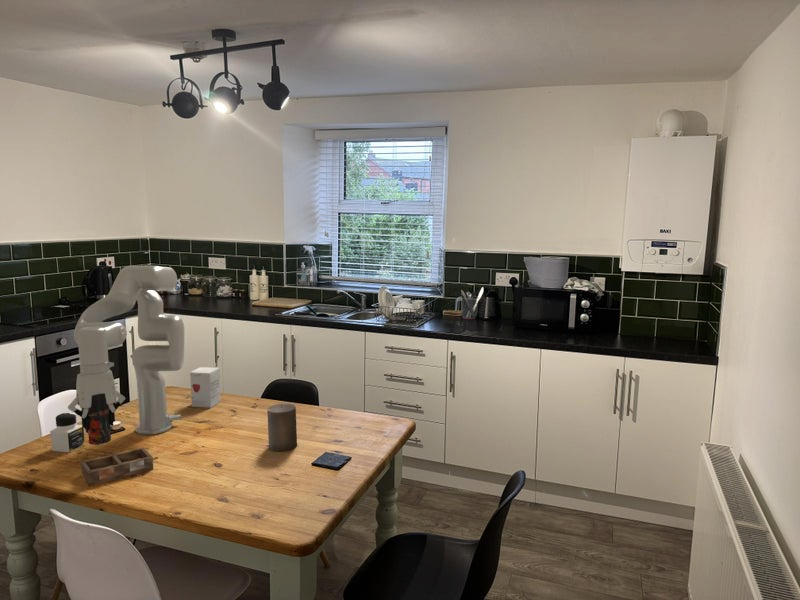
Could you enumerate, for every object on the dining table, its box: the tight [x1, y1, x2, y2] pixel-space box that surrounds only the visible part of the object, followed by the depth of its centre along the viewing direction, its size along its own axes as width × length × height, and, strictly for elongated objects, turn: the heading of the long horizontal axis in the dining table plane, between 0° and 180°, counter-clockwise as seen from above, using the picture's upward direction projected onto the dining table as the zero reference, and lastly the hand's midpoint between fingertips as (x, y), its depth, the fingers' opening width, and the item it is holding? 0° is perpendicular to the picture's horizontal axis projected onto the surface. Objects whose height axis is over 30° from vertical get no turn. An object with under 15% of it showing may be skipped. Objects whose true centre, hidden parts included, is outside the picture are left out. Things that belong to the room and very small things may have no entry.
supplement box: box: [189, 366, 222, 409], centre depth 242 cm, size 9×9×15 cm
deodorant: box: [87, 393, 112, 446], centre depth 172 cm, size 6×6×15 cm
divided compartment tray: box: [80, 446, 154, 487], centre depth 177 cm, size 18×10×4 cm, turn 130°
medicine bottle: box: [49, 411, 86, 453], centre depth 195 cm, size 7×7×12 cm
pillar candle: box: [266, 403, 298, 452], centre depth 197 cm, size 10×10×15 cm
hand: (99, 426), depth 173 cm, fingers closed on deodorant, 5 cm apart
